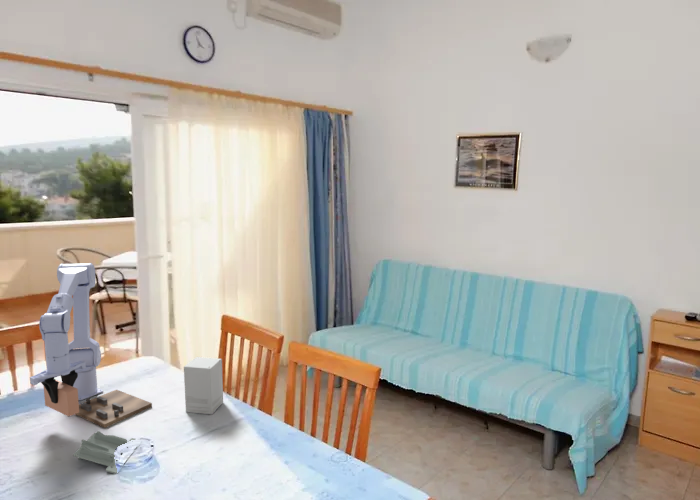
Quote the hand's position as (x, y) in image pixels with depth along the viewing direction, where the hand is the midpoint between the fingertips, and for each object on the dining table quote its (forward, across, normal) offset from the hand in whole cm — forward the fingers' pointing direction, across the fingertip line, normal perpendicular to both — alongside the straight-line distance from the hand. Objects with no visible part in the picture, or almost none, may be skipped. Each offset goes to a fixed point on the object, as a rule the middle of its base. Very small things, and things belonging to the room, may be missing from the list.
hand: (61, 399), depth 145 cm
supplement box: (+9, +32, -23) cm, 40 cm away
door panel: (+3, 0, 0) cm, 3 cm away
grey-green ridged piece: (+10, -2, -23) cm, 25 cm away
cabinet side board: (+9, +15, 0) cm, 18 cm away
